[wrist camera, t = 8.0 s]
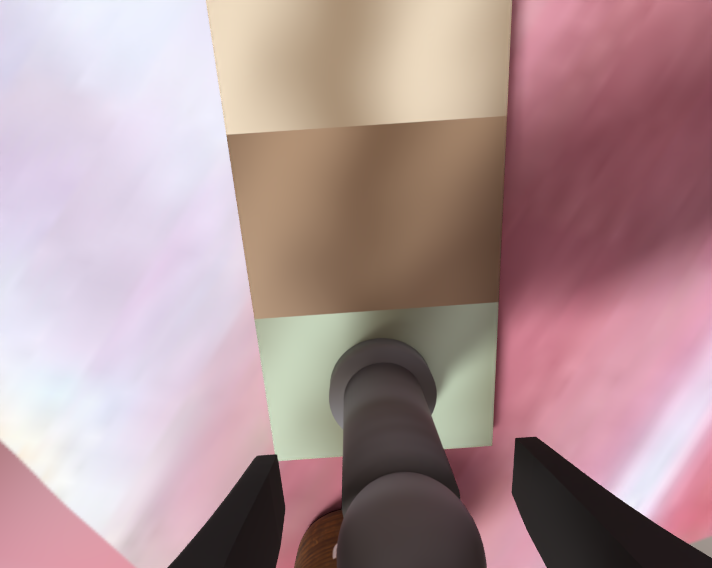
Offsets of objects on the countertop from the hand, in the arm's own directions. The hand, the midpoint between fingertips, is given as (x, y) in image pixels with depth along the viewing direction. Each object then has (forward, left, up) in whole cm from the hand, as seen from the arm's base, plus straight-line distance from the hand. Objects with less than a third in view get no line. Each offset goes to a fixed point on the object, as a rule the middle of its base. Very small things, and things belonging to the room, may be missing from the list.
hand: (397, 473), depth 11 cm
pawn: (0, 0, -5) cm, 5 cm away
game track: (0, -7, -6) cm, 9 cm away
